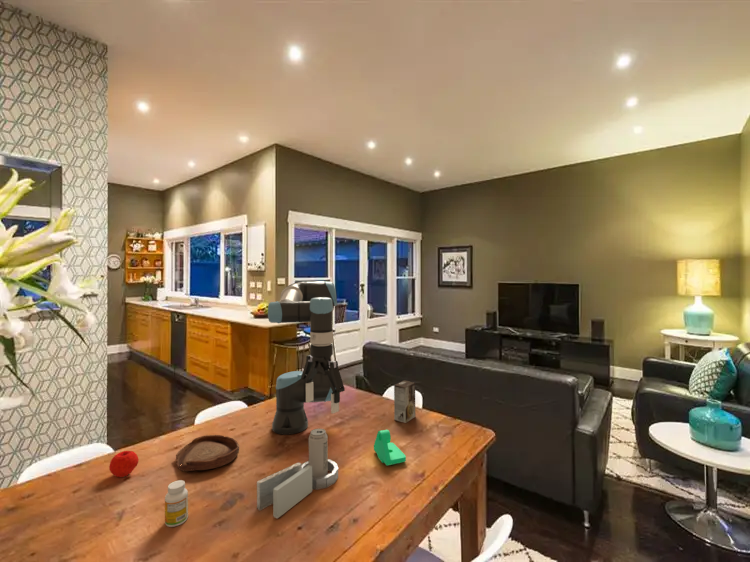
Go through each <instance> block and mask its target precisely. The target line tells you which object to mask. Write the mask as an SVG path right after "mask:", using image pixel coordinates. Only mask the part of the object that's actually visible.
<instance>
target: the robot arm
mask: <svg viewBox="0 0 750 562" xmlns="http://www.w3.org/2000/svg"><path fill="white" fill-rule="evenodd" d="M337 299H338V298H337V291H336V286H335V284H334V282H332V281H326V280H322V281H321V280H320V281H298V282H294V283H291V284H289V285H287V286H285V287H284V288H283V289H282V291H281V293H280V299H279V301H278V300H277V301H271V302H269V304H268V307H267V318H268V321H269V322H270V323H271V324H272V323H273V324H284V323H286V324H290V323H309V326H310V330H309V332H310V333H309V335H310V337H309V338H310V339H309V340H310V345H309V351H310V352H309V355H306V359H305V360H306V361H305V363H304V364H305V365H304V367H303V370H294V371H289V372H285V373H282V374H280V375H279V376H277V378H276V381H275V384H276V385H275V390H276V391H275V392H276V393H275V399H276V401H275V403H276V405H275V406H276V408H275V409H276V411H275V414H274V417H273V420H272V425H271V430H272V432H273V433H275V434H277V435H294V434H298V433H301V432H303V431H306V429H307V428H308V426H309V420H308V417H307V414H306V411H305V406H304V405H305V404H306V403H321V402H322V403H325V402H330V414H332V415H333V414H335V413H338V412H340V401H341V393H343V392H344V391H345V385H344V382H343V379H342V376H341V373H340V369H339V362H338V360H333V361H332V356H333V354H334V345H333V344H332V343H334V331H333V330H334V329H333V326H334V325H333V317H334V316H333V313H334V310H335V307H337V305H338V300H337Z"/></svg>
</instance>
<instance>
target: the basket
mask: <svg viewBox="0 0 750 562" xmlns="http://www.w3.org/2000/svg"><path fill="white" fill-rule="evenodd" d="M239 451H240V445H239V442H237V440H235V439H234V438H232V437H229V436H224V435H220V434H209V435H208V434H206V435H202V436H198V437H196V438H193V440H192V441H191V442H189V443H187V444H186V445H185V446H183V447H182V448H181V449H180V450H178V452H177V453H176V455H175V459H176V460H175V463H176V467H177V468H178V469H179V470H180V471H181V472H190V471H191V472H192V471H206V470H212V469H217V468H219V467H223V466H225V465H227V464H230V463H231V462H233V461H234V460H235V458H236V457H237V456H238V454H239ZM181 464H182V465H181ZM180 465H181V466H180Z"/></svg>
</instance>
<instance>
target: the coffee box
mask: <svg viewBox="0 0 750 562" xmlns="http://www.w3.org/2000/svg"><path fill="white" fill-rule="evenodd" d="M393 389H394V390H393V392H394V393H393V394H394V395H393V397H394V398H393V400H394V402H393V405H394V409H393V411H394V412H393V413H394V416H393V417H394V421H397V422H400V423H404V424H406V423H408V422H409V421H411V420H412V419H414V418H415V417H416V415H417V414H416V382H412V381H409V380H402V381H400V382H398V383H396V384H394V385H393Z"/></svg>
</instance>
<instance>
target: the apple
mask: <svg viewBox="0 0 750 562" xmlns="http://www.w3.org/2000/svg"><path fill="white" fill-rule="evenodd" d="M139 460H140V459H139V457H138V455H137V453H136V452H135V451H132V450H123V451H120V452H118V453H116V454H115V455H114V456H113V457H112V458H111V460H110V462H109V466H108V467H109V471H110V473H111V474H112V475H113V476H114V477H117V478H124V476H125V477H127V476H128V474H129V475H130V474H131V473H132V472H133V471H134V470H135V468H136V467H137V466H138V464H139Z"/></svg>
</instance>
